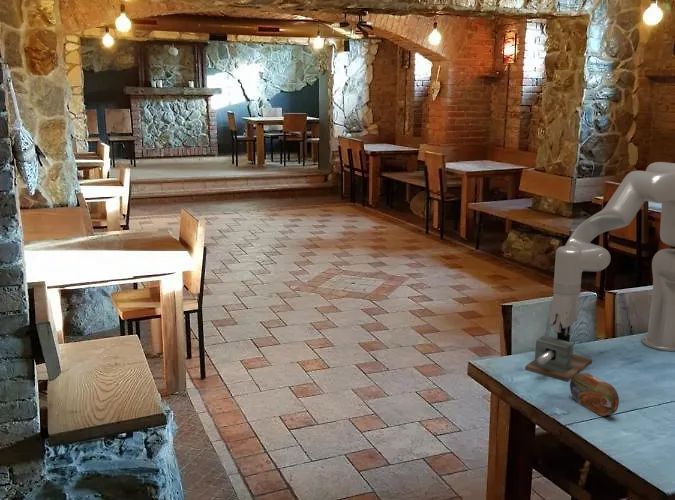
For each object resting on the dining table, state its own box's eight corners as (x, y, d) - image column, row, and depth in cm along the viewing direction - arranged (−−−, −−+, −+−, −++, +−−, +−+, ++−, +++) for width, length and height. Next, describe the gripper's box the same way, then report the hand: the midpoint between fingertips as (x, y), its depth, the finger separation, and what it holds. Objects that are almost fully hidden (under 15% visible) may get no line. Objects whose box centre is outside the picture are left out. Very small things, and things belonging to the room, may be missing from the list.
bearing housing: (551, 351, 214) (553, 324, 212) (591, 362, 206) (594, 334, 204) (525, 369, 201) (527, 340, 199) (567, 381, 193) (570, 351, 191)
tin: (567, 397, 183) (570, 368, 181) (577, 395, 185) (579, 366, 183) (609, 422, 170) (613, 391, 168) (619, 419, 171) (622, 389, 169)
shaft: (551, 353, 204) (552, 337, 203) (567, 357, 201) (568, 341, 200) (532, 366, 195) (533, 350, 193) (548, 371, 191) (549, 354, 190)
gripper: (565, 280, 207) (561, 336, 211) (543, 291, 196) (539, 351, 201) (589, 284, 202) (585, 342, 206) (568, 297, 191) (564, 357, 196)
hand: (562, 346), depth 203 cm, fingers closed
